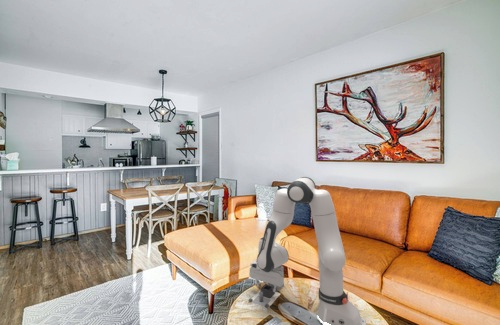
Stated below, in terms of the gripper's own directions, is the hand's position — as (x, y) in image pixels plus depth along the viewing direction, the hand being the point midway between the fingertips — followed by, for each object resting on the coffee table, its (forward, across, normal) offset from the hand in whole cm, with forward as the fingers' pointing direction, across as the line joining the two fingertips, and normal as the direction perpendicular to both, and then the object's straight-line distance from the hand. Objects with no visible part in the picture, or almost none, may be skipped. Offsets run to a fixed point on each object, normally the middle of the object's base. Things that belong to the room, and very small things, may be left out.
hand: (266, 289), depth 143 cm
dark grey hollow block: (+3, -1, -1) cm, 3 cm away
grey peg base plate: (+5, -1, +3) cm, 6 cm away
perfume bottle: (+5, -1, -10) cm, 11 cm away
